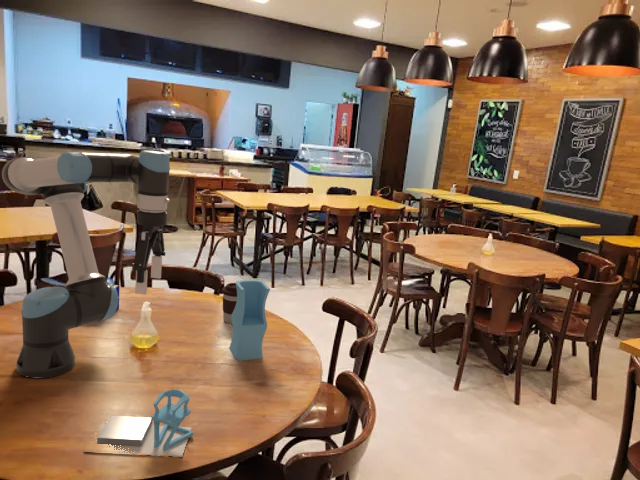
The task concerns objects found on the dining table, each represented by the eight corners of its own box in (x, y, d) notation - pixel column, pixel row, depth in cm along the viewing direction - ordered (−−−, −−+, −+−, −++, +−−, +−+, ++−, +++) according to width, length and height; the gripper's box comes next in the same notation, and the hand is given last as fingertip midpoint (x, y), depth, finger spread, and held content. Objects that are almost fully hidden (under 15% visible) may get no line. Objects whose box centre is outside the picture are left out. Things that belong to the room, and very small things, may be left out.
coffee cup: (249, 321, 192) (252, 285, 189) (233, 327, 184) (235, 291, 180) (231, 314, 197) (234, 279, 194) (214, 320, 189) (217, 284, 185)
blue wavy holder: (235, 360, 157) (241, 289, 152) (229, 348, 166) (234, 280, 161) (264, 358, 161) (270, 288, 156) (256, 345, 170) (261, 279, 165)
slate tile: (111, 421, 118) (97, 444, 109) (111, 415, 118) (97, 437, 109) (152, 423, 119) (141, 446, 110) (152, 417, 119) (141, 440, 110)
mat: (83, 452, 107) (83, 451, 107) (102, 423, 117) (102, 422, 117) (182, 457, 109) (182, 456, 109) (191, 428, 119) (191, 427, 119)
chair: (145, 444, 111) (146, 398, 109) (167, 425, 119) (169, 382, 116) (172, 454, 109) (174, 408, 106) (193, 434, 117) (196, 390, 114)
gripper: (152, 219, 114) (148, 302, 118) (178, 204, 138) (173, 273, 143) (121, 216, 113) (118, 299, 118) (152, 201, 138) (148, 270, 142)
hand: (148, 285), depth 130 cm, fingers open, 13 cm apart
